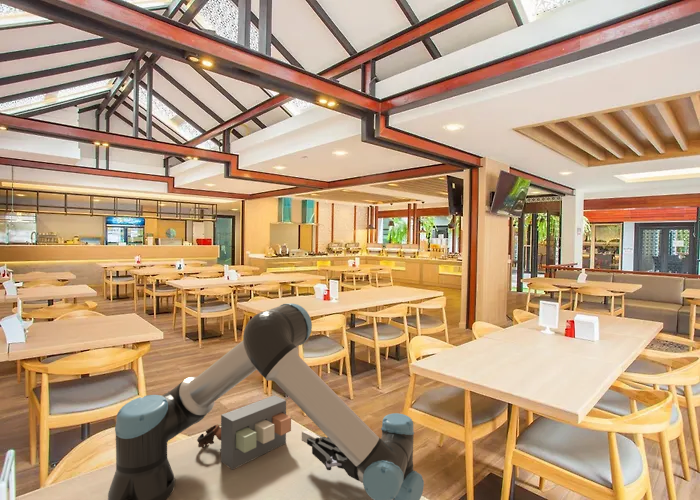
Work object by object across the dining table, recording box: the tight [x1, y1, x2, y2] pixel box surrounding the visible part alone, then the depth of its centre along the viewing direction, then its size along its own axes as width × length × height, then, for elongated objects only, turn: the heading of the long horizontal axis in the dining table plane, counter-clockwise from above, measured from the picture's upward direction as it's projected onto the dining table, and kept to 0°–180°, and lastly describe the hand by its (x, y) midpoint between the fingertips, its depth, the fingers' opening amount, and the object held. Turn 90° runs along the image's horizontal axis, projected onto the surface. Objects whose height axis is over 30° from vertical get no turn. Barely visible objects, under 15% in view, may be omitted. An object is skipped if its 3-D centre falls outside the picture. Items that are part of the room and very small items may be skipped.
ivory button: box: [255, 419, 274, 444], centre depth 118 cm, size 4×5×4 cm
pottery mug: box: [196, 424, 221, 452], centre depth 123 cm, size 12×10×8 cm
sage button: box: [236, 427, 256, 453], centre depth 113 cm, size 4×5×4 cm
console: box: [220, 395, 287, 470], centre depth 121 cm, size 20×6×14 cm, turn 139°
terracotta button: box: [272, 413, 292, 435], centre depth 122 cm, size 4×5×4 cm
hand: (303, 435), depth 116 cm, fingers closed
